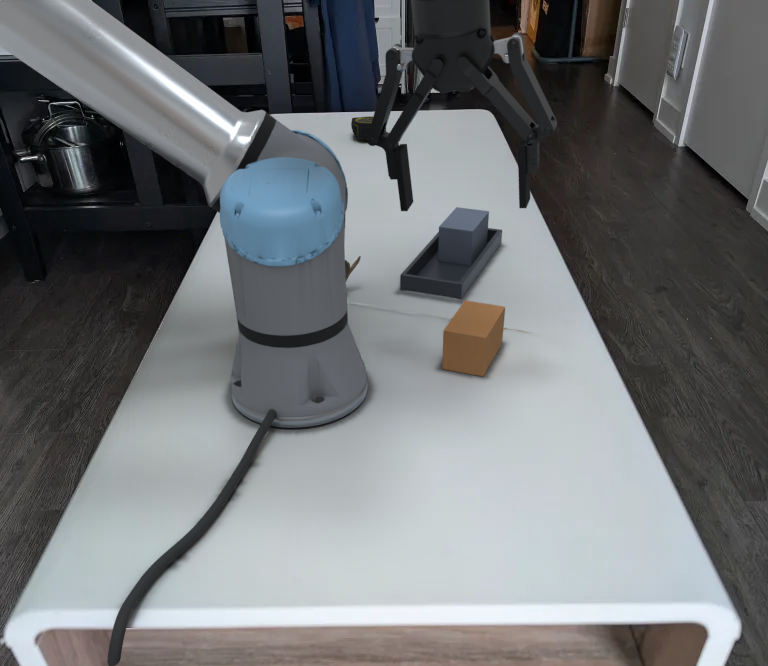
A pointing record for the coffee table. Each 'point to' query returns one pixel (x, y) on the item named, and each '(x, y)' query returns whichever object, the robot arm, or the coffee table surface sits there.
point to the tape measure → (361, 126)
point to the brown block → (473, 338)
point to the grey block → (463, 236)
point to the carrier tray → (446, 269)
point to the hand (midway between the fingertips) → (464, 205)
